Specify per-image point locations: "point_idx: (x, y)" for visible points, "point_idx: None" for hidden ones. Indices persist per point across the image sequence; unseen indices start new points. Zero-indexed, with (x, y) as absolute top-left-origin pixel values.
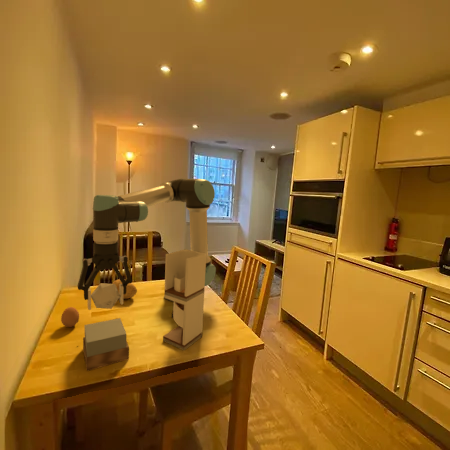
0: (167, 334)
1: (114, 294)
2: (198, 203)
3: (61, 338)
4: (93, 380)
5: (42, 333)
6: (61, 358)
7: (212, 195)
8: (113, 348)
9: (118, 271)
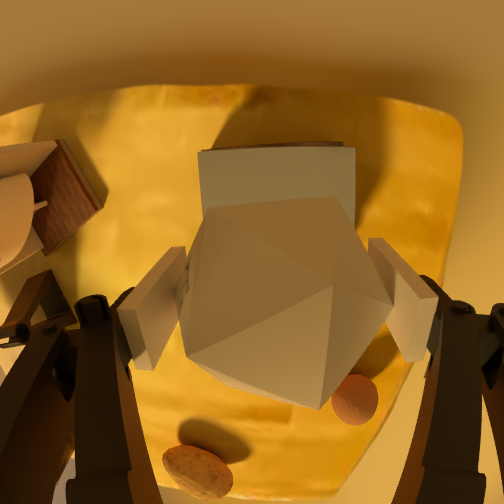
0: (83, 214)
1: (208, 231)
2: None
3: (379, 331)
4: (317, 91)
5: (411, 365)
6: (391, 234)
7: None
8: (254, 147)
9: (83, 445)
